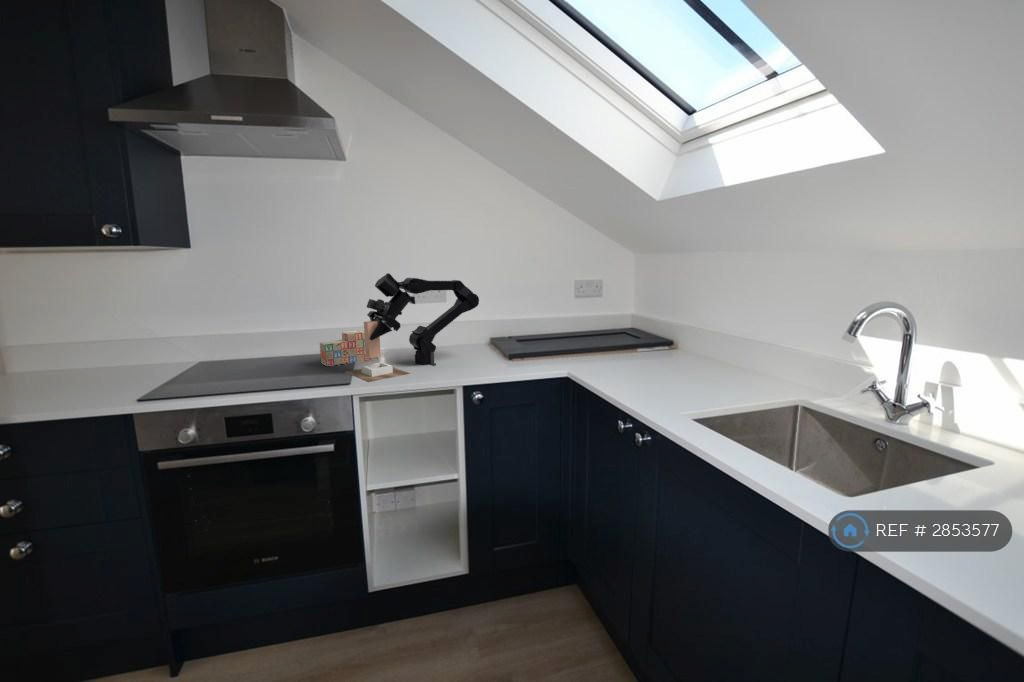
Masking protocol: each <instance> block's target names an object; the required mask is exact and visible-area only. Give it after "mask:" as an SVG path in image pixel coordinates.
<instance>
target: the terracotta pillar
mask: <svg viewBox="0 0 1024 682" xmlns="http://www.w3.org/2000/svg"><path fill="white" fill-rule="evenodd" d="M376 327H377V321H371V320H368V321H363V330H364V333H365V347H366V356H367V357H369V358H373V357H378V358H380V357H381V356H382V353H381V351H382V350H381V340H380V338H381V336H380V337H378V338H376V339H374V340H370V337H371V335H372V333H373V332H374V330H375V328H376Z"/></svg>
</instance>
